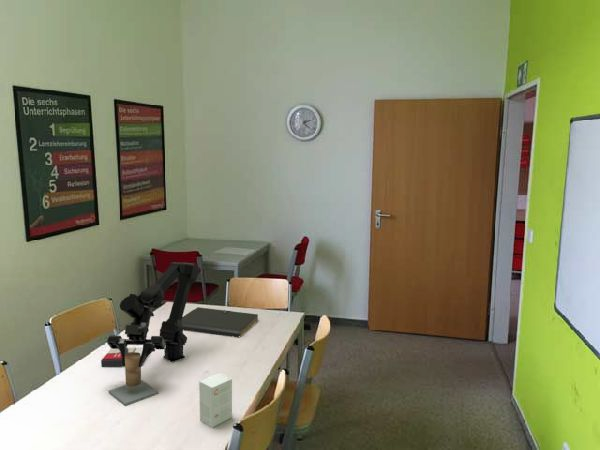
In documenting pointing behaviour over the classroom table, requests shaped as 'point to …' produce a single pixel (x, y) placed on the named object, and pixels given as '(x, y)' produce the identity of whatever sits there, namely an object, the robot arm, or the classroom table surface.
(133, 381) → the roller
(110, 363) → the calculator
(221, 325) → the file folder
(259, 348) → the classroom table surface
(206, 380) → the small box
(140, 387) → the pad
